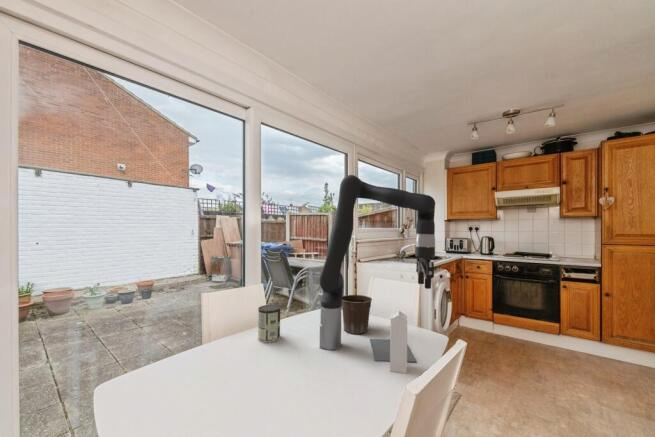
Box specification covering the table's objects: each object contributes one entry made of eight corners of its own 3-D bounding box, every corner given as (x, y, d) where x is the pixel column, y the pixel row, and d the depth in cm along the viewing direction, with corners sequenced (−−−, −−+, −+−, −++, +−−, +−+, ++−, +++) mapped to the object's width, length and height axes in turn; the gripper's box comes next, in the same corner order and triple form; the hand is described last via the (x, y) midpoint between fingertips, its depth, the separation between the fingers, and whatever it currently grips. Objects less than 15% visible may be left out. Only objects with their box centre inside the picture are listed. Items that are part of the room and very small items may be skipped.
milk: (390, 371, 103) (390, 310, 103) (390, 363, 109) (390, 305, 109) (407, 373, 101) (407, 311, 102) (406, 365, 107) (406, 307, 108)
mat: (375, 361, 110) (375, 359, 110) (369, 339, 131) (369, 338, 131) (416, 362, 109) (416, 361, 109) (404, 341, 130) (404, 339, 130)
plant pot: (341, 323, 153) (341, 293, 153) (371, 325, 150) (371, 295, 151) (338, 335, 137) (338, 301, 137) (372, 337, 134) (372, 303, 135)
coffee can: (268, 332, 139) (269, 303, 139) (284, 337, 133) (285, 306, 134) (252, 339, 130) (253, 308, 130) (269, 344, 125) (269, 312, 125)
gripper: (410, 244, 120) (410, 282, 120) (421, 246, 106) (420, 289, 106) (428, 244, 120) (427, 282, 120) (441, 247, 106) (440, 290, 105)
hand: (424, 286), depth 113 cm, fingers open, 8 cm apart
